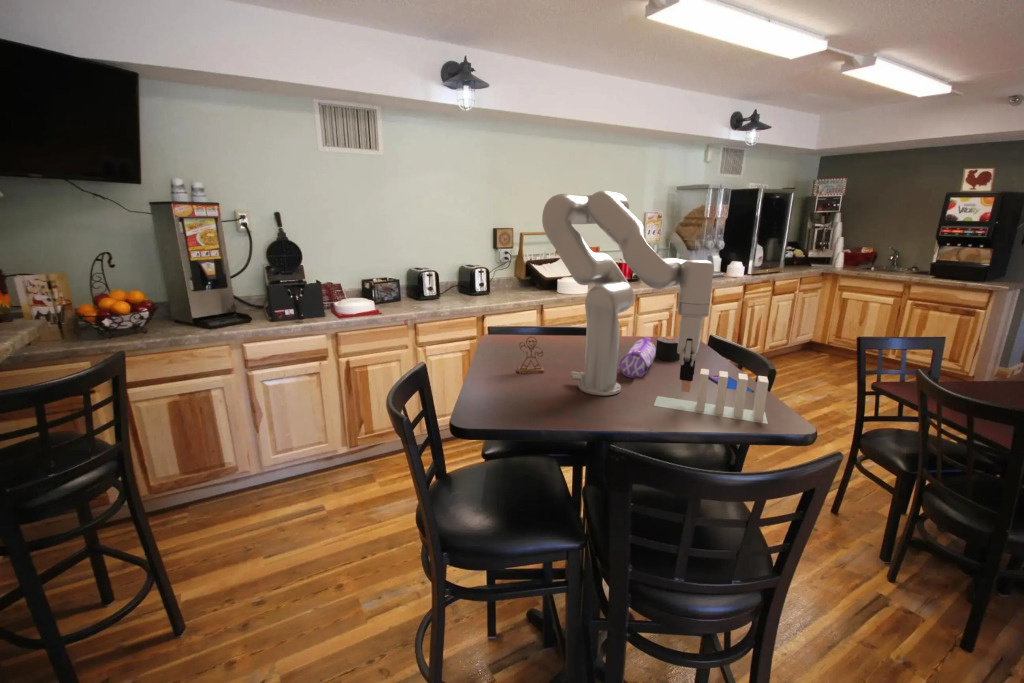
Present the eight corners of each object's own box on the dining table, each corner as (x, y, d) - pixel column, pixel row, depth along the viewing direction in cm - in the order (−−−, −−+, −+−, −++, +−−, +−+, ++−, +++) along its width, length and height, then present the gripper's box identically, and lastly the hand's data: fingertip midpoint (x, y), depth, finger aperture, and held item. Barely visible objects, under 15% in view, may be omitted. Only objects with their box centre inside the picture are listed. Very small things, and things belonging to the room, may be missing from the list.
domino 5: (753, 419, 116) (759, 381, 114) (752, 412, 120) (758, 375, 118) (762, 420, 115) (768, 382, 113) (761, 413, 120) (766, 376, 117)
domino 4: (733, 416, 118) (739, 378, 115) (733, 409, 122) (738, 373, 120) (742, 417, 117) (748, 379, 115) (741, 410, 121) (747, 374, 119)
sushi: (651, 356, 176) (653, 336, 174) (668, 354, 179) (670, 334, 177) (666, 362, 169) (668, 340, 167) (683, 359, 172) (686, 338, 170)
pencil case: (646, 381, 148) (649, 353, 145) (617, 377, 151) (619, 349, 149) (655, 363, 167) (657, 338, 165) (629, 360, 171) (631, 335, 169)
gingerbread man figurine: (543, 369, 158) (544, 335, 155) (544, 373, 154) (545, 338, 151) (517, 369, 157) (517, 335, 154) (518, 373, 154) (518, 338, 151)
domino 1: (681, 391, 122) (684, 354, 119) (682, 385, 126) (685, 350, 124) (689, 392, 121) (692, 355, 119) (690, 386, 125) (693, 350, 123)
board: (653, 409, 124) (653, 405, 124) (657, 400, 131) (657, 396, 131) (767, 428, 114) (767, 423, 114) (764, 416, 121) (765, 412, 121)
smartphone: (732, 392, 138) (706, 375, 152) (732, 395, 138) (706, 378, 152) (755, 391, 138) (727, 375, 153) (755, 394, 139) (727, 377, 153)
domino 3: (714, 413, 120) (719, 376, 117) (714, 406, 124) (719, 370, 122) (723, 414, 119) (728, 377, 116) (723, 407, 123) (727, 371, 121)
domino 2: (695, 410, 121) (700, 373, 119) (696, 403, 126) (701, 368, 123) (704, 411, 121) (708, 374, 118) (704, 405, 125) (709, 369, 123)
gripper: (680, 303, 128) (674, 367, 132) (674, 313, 112) (668, 384, 117) (710, 305, 125) (703, 370, 129) (708, 315, 110) (700, 389, 114)
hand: (686, 376), depth 123 cm, fingers closed on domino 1, 4 cm apart
